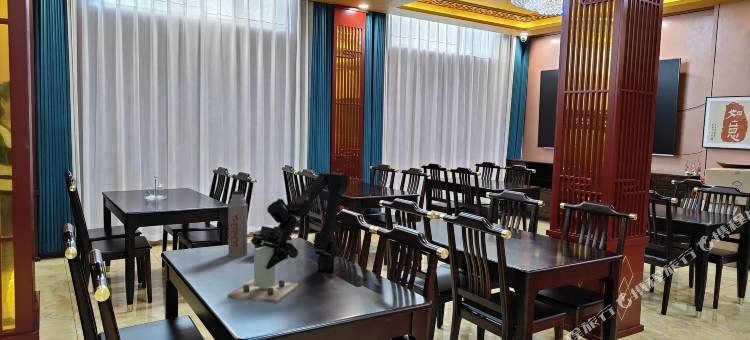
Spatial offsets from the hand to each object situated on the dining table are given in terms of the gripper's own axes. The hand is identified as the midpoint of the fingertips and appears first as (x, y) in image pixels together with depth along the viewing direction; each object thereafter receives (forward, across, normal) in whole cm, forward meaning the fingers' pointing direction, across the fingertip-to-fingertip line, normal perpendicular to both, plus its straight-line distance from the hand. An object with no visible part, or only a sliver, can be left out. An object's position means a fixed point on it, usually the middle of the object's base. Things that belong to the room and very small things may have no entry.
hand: (261, 267), depth 181 cm
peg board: (+5, 0, +7) cm, 9 cm away
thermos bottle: (-14, -46, +27) cm, 55 cm away
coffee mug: (-20, -38, +33) cm, 54 cm away
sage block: (+4, 0, +6) cm, 7 cm away
